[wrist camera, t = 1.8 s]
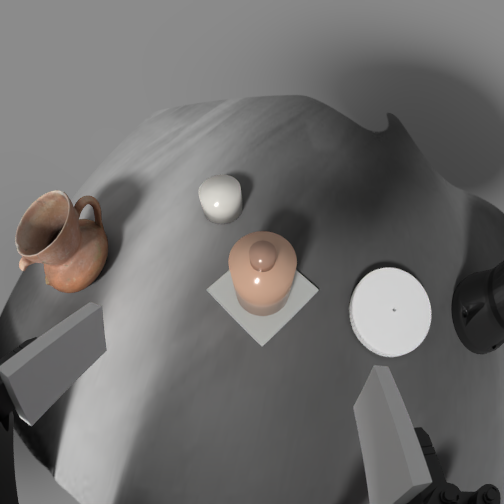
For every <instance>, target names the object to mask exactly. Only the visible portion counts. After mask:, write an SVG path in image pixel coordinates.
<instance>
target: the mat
mask: <svg viewBox="0 0 504 504" xmlns="http://www.w3.org/2000/svg"><path fill="white" fill-rule="evenodd" d="M207 291H208V292H209V293H210V294H211V295H212V296H213V297H214V299H215V300H216V301H217V302H218V303H219V304H220V305H221V306H222V307H223V308H224V309H225V310H226V311H227V312H228V313H229V314H230V315H231V316H232V317H233V318H234V319H235V320H236V321H237V322H238V323H239V324H240V325H241V326H242V327H243V328H244V329H245V330H246V331H247V332H248V333H249V334H250V335H251V336H252V337H253V338H254V339H255V340H256V341H257V342H258V343H259V344H260V345H261V346H262V347H263V346H264V345H265V344H266V343H267V342H268V341H269V340H270V339H271V338H272V337H273V336H274V335H275V334H276V333H277V332H278V331H279V330H280V329H281V328H282V327H283V326H284V325H285V324H286V323H287V322H288V321H289V320H290V319H291V318H292V317H293V316H294V315H295V314H296V313H297V312H298V311H299V310H300V309H301V308H302V307H303V306H304V305H305V304H306V303H307V302H308V301H309V300H310V299H311V298H312V297H313V296H314V295H315V294H316V293H317V292H318V291H319V289H317V288H316V287H315V286H314V285H313V284H312V283H311V282H309V281H308V280H307V279H306V278H305V277H304V276H303V275H301V274H300V273H299V272H298V271H297V270H296V271H295V275H294V279H293V282H292V286H291V290H290V294H289V298H288V300H287V302H286V304H285V306H284V307H283V308H282V309H281V310H280V311H278V312H277V313H274V314H272V315H268V316H257V315H253V314H251V313H249V312H247V311H246V310H245V309H243V308H242V306H241V305H240V304H239V302H238V300H237V297H236V293H235V289H234V285H233V281H232V277H231V273H230V270H229V271H228V272H226V273H225V274H224V275H223V276H222V277H221V278H219V279H218V280H217V281H216V282H215V283H214V284H213V285H211V286H210V287H209V288H208V289H207Z"/></svg>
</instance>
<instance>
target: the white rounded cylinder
mask: <svg viewBox="0 0 504 504" xmlns="http://www.w3.org/2000/svg"><path fill="white" fill-rule="evenodd" d="M199 198H200V201H201V204H202V208H203V211H204V214H205V216H206V218H207V219H208V220H209V221H211V222H213V223H215V224H227V223H230V222H233V221H234V220H236V219H237V218H238V217H239V216H240V214H241V213H242V209H243V204H242V195H241V187H240V184H239V182H238V181H237V180H236V179H235V178H234V177H232V176H229V175H215V176H212V177H210V178H208V179H206V180H205V181H204V182H203V183H202V184H201V186H200V188H199Z"/></svg>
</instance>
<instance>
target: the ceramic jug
mask: <svg viewBox="0 0 504 504" xmlns="http://www.w3.org/2000/svg"><path fill="white" fill-rule="evenodd" d="M87 204H90V205H91V206H92V207H93V209H94V215H95V222H94V221H91V220H87V219H79V217H80V213H81V211H82V209H83V208H84V207H85V206H86V205H87ZM15 243H16V246H17V250H18V252H19V253H20V254H21V255H22V256H23V257H22V258H21V260H20V262H19V267H20V269H21V270H22V271H25V270H26V268H27V266H29V265H30V264H33V263H36V262H37V263H43V264H44V270H45V274H46V276H45V279H46V284H48V285H51V286H53V287H54V288H55V289H57V290H58V291H61V292H65V293H74V292H78V291H81V290H83V289H85V288H86V287H88V286H89V285H90V284H91V283H92V282H93V281H94V280H95V279H96V278H97V277H98V275H99V274H100V272H101V271H102V269H103V267H104V264H105V262H106V259H107V254H108V240H107V237H106V234H105V232H104V228H103V224H102V219H101V208H100V205H99V203H98V201H97V200H96V199H95V198H94V197H92V196H84V197H82V198H80V199H79V200H78V201H77V202H76V204H75V206H74V207H73V204H72V202H71V200H70V199H69V197H68V196H67V194H66V193H64V192H62V191H59V190H55V191H50V192H48V193H46V194H44V195H42V196H40V197H39V198H38V199H37V200H36V201H34V202H33V203H32V204H31V205H30V207H29V208H28V209H27V210H26V212H25V214H24V215H23V217H22V218H21V221H20V223H19V225H18V228H17V231H16V236H15Z"/></svg>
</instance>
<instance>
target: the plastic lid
mask: <svg viewBox="0 0 504 504" xmlns="http://www.w3.org/2000/svg"><path fill="white" fill-rule="evenodd" d="M428 299H429V297H427V293H426V291H425V290H424V287H422V285H421V284H420V283H419V281H417V279H415V278H414V276H413V277H412V276H411V274H408V272H407V273H406V272H405V271H402V270H399V269H398V268H397V269H396V268H392V267H391V268H389V267H387V268H385V267H384V268H383V269H382V268H380V269H377V270H374V271H371V273H368V274H367V275H366V276H365V277H364V278H363V279H362V280H361V281H360V282H359V284H358V285H357V286H356V288H355V289H354V292H353V293H352V296H351V300H350V302H351V303H350V304H349V306H350V307H349V310H350V311H349V314H350V316H349V318H351V319H350V322H351V326H353V327H352V329H353V330H354V333H356V337H358V340H360V341H361V342H360V343H363V346H366V348H367V349H369V351H373V353H376V354H379V355H380V356H381V355H383V356H384V357H385V356H387V357H389V356H390V357H393V356H394V357H396V356H400V355H404V354H406V353H409V352H410V351H413V349H416V347H418V346H419V344H421V343H422V341H423V340H424V338H425V337H426V335H427V332H428V331H429V330H428V329H429V328H430V326H429V325H430V324H431V323H430V321H431V317H432V315H431V313H432V312H431V308H430V306H431V304H430V303H429V302H430V301H429V300H428Z"/></svg>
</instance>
